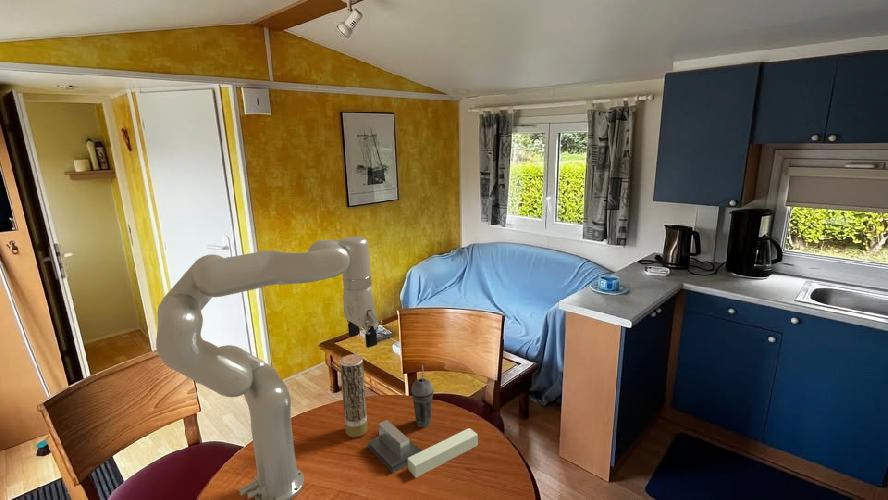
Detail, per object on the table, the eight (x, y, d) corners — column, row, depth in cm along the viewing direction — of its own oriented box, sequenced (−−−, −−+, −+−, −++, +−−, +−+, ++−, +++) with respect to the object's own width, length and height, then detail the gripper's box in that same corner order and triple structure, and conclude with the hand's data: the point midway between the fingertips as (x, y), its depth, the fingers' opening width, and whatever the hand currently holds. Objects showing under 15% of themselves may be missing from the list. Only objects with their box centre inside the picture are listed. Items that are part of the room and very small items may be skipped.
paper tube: (370, 425, 142) (365, 354, 137) (364, 439, 136) (358, 365, 130) (349, 424, 143) (343, 354, 137) (342, 438, 136) (336, 364, 131)
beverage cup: (408, 428, 141) (406, 371, 136) (416, 415, 147) (414, 360, 143) (430, 431, 138) (428, 374, 134) (437, 418, 145) (435, 363, 141)
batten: (415, 478, 119) (415, 466, 118) (408, 470, 123) (407, 458, 122) (477, 446, 132) (477, 434, 131) (469, 439, 135) (469, 427, 134)
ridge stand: (392, 473, 121) (391, 451, 120) (367, 447, 132) (366, 426, 130) (422, 457, 127) (421, 436, 126) (396, 433, 138) (395, 413, 136)
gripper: (330, 278, 123) (336, 335, 127) (361, 293, 110) (366, 355, 114) (354, 273, 128) (359, 327, 132) (386, 286, 115) (391, 346, 119)
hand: (362, 340), depth 123 cm, fingers open, 9 cm apart
